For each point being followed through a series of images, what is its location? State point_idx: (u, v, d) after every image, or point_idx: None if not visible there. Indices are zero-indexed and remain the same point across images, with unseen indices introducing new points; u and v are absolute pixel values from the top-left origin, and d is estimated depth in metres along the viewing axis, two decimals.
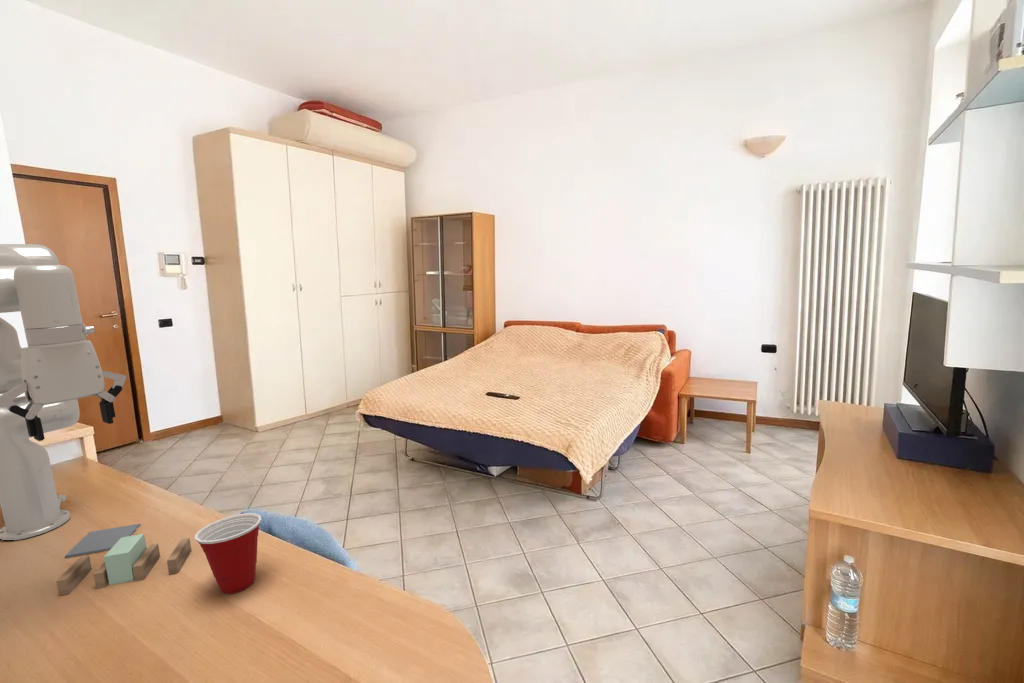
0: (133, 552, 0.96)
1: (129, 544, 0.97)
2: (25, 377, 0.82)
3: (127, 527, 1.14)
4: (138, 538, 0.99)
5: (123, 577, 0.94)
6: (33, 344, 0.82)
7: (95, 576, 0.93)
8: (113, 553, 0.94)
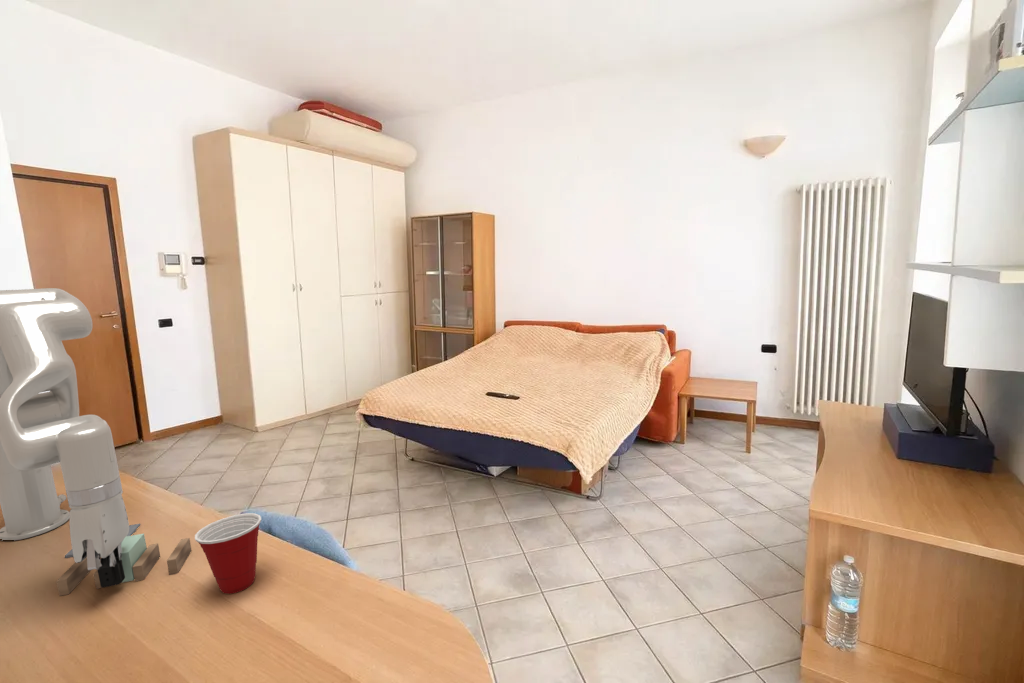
0: (133, 552, 0.96)
1: (129, 544, 0.97)
2: (89, 536, 0.85)
3: None
4: (138, 538, 0.99)
5: None
6: (95, 502, 0.86)
7: (95, 576, 0.93)
8: None
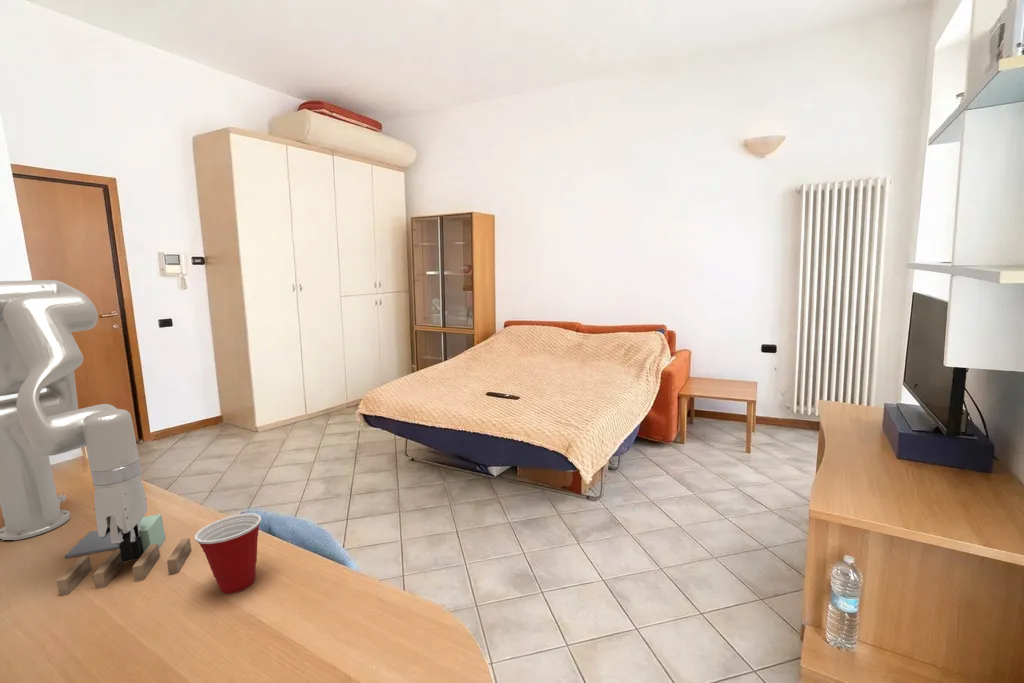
0: (151, 530, 1.03)
1: (148, 523, 1.04)
2: (112, 513, 0.93)
3: None
4: (156, 518, 1.07)
5: None
6: (118, 482, 0.94)
7: (95, 576, 0.93)
8: None
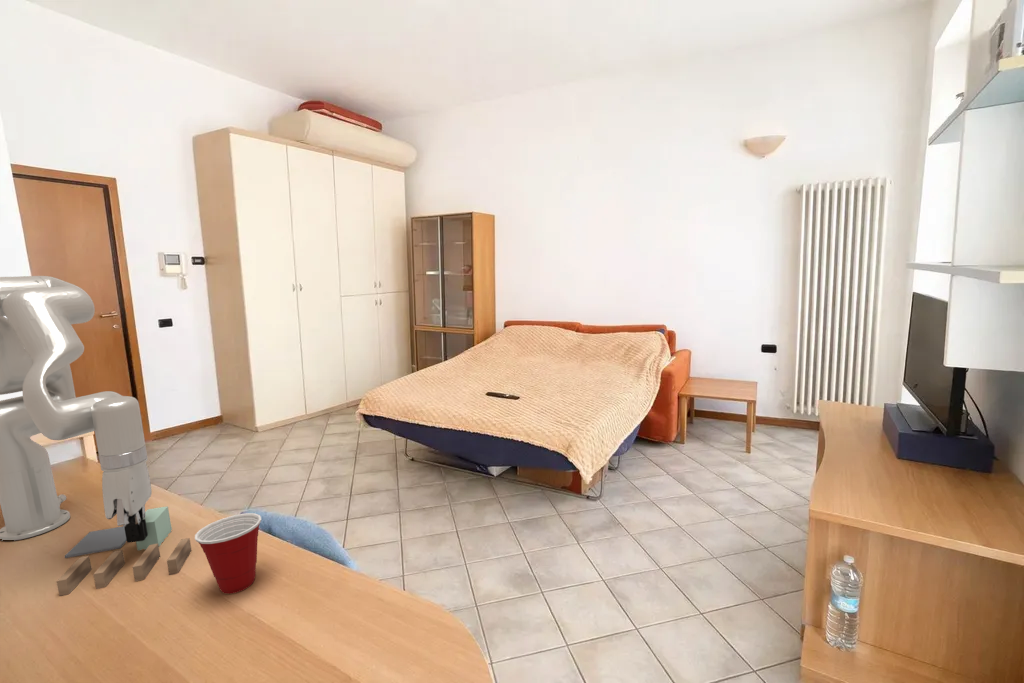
0: (158, 522, 1.07)
1: (154, 515, 1.08)
2: (119, 496, 0.96)
3: None
4: (162, 510, 1.10)
5: (149, 543, 1.06)
6: (125, 466, 0.97)
7: (95, 576, 0.93)
8: None
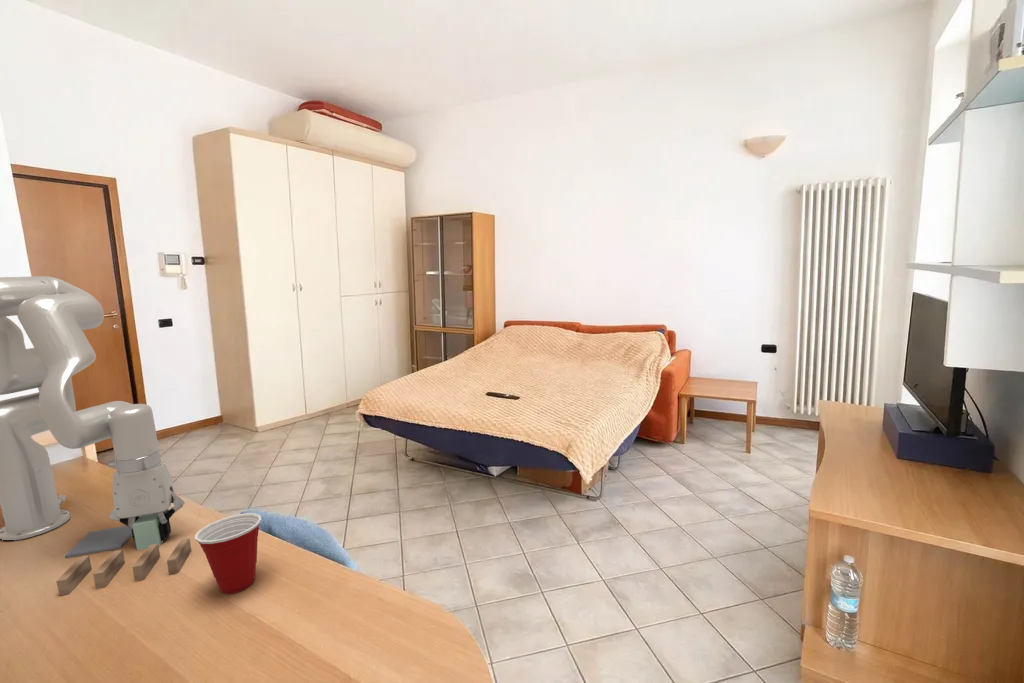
0: (157, 522, 1.07)
1: (154, 515, 1.08)
2: (170, 483, 1.08)
3: (127, 527, 1.14)
4: None
5: (149, 543, 1.06)
6: (160, 460, 1.08)
7: (95, 576, 0.93)
8: (140, 522, 1.05)
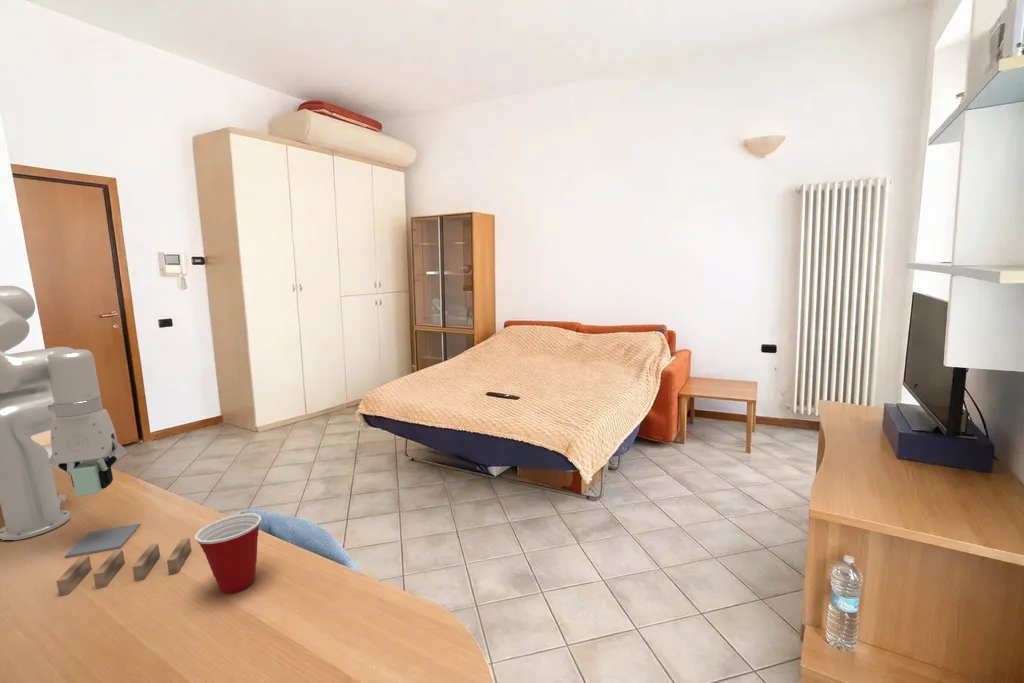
0: (97, 469, 1.06)
1: (94, 462, 1.07)
2: (112, 431, 1.08)
3: (127, 527, 1.14)
4: None
5: (88, 490, 1.05)
6: None
7: (95, 576, 0.93)
8: (79, 468, 1.04)
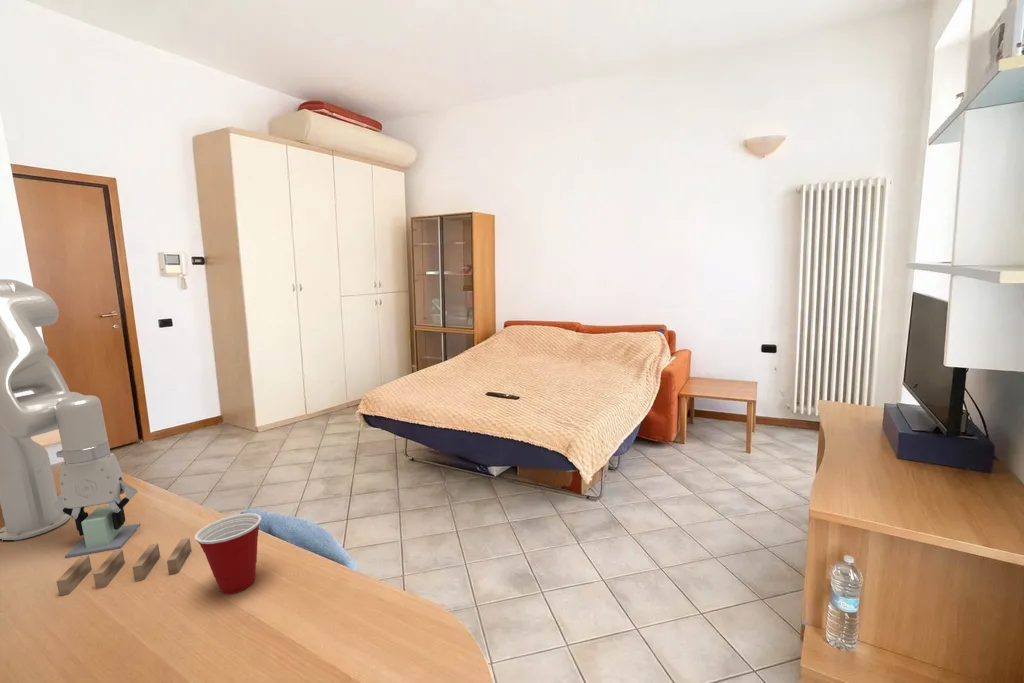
0: (107, 519, 1.08)
1: (104, 513, 1.09)
2: (120, 474, 1.09)
3: (127, 527, 1.14)
4: None
5: (98, 541, 1.07)
6: None
7: (95, 576, 0.93)
8: (89, 520, 1.06)
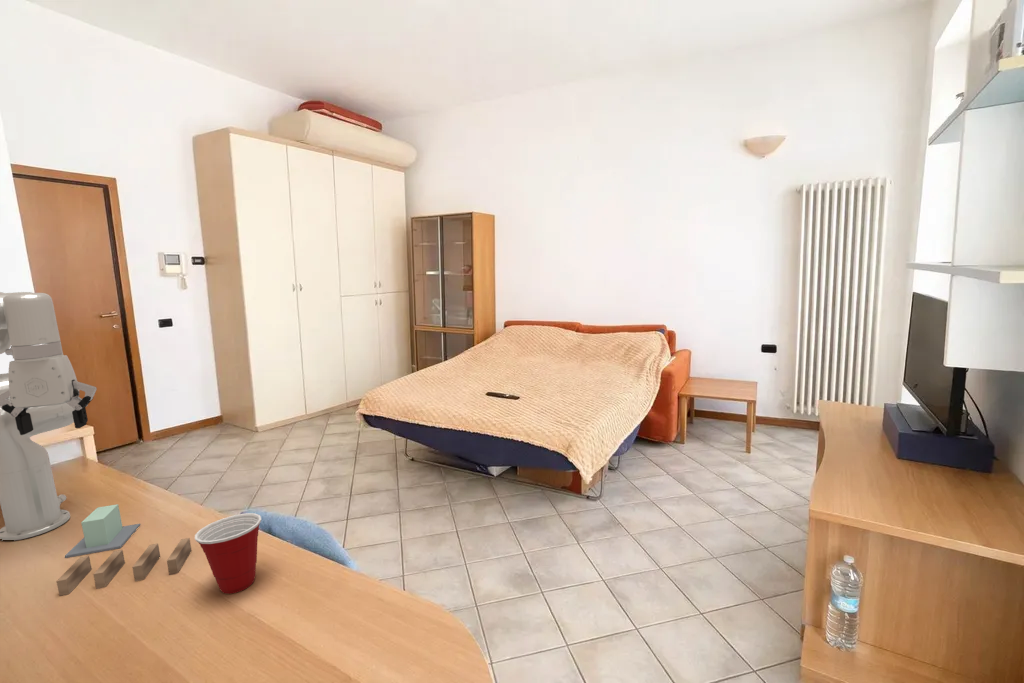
0: (107, 519, 1.08)
1: (104, 513, 1.09)
2: (73, 377, 1.06)
3: (127, 527, 1.14)
4: (112, 508, 1.11)
5: (98, 541, 1.07)
6: (62, 352, 1.06)
7: (95, 576, 0.93)
8: (89, 520, 1.06)
